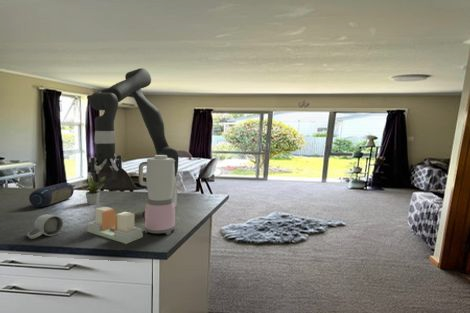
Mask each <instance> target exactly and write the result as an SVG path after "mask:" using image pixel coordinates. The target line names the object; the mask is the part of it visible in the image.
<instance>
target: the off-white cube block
mask: <svg viewBox="0 0 470 313" xmlns="http://www.w3.org/2000/svg"><path fill="white" fill-rule="evenodd" d="M115 215H116V209H115V208H114V209H113V208H112V207H109V206H101V207H97V208H95V221H96V224H98V225H101V229H102V230H106V229H108V228H110V227H114V216H115Z"/></svg>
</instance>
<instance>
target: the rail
mask: <svg viewBox="0 0 470 313" xmlns="http://www.w3.org/2000/svg"><path fill="white" fill-rule="evenodd" d="M87 224H88V226H87V228H86V231H87V232H88V233H91V234H94V235H96V236H97V235H98V236H101V237H103V238H106V239H110V240H113V241H116V242H118V243H119V242H120V243H122V244H125V245H127V244H130V243H132V242H134V241H137V240H140V239H141V238H144V233H143V229H142V228H140V227H136V226H135V213H133V212H130V211H129V212H128V211H123V212H120V213H117V214H115V216H114V227H110V228H108V229H106V230H102V229H101V225H98V224H96V220H93V221H90V222H88V223H87Z"/></svg>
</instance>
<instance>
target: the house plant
mask: <svg viewBox="0 0 470 313" xmlns="http://www.w3.org/2000/svg"><path fill="white" fill-rule="evenodd" d="M90 178H91V179H90ZM90 178H89V177H88V176H86V179H87V181H85V184H86V185H87V186H86V185H82V187H81V188H80V190H81V189H83V190H85V191H87V192H85V197H86V202H87V204H88V205H92V206H93V205H98V204H99V199H100V194H101V190H100V189H102V187H103V186H104V185H105V183H104V184H101V183H102V182H103V181H104V179H105V176H103V177H101V178H99V183H94V182H93V175H90ZM79 180H81V181H82V182H84V180H83V179H80V178H79ZM100 184H101V185H100ZM98 190H100V191H98Z"/></svg>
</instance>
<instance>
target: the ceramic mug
mask: <svg viewBox="0 0 470 313" xmlns="http://www.w3.org/2000/svg"><path fill="white" fill-rule="evenodd" d="M33 227H34V228H32V229H31V230H30V231H28V232H27V234H26V235H27V237H28V238H29V239H30V240H32V239H33V240H34V239H36V238H39V237H40V236H42V235H44V236H48V237H53V236H56V235H58V234H59V233H60V232H61V231H62V229H63V227H64V221H63V219H62V217H61V216H59V215H54V214H47V213H46V214H42V215H39V216H38V217H37V218H36V219H35V220H34V223H33ZM35 232H36V233H35Z"/></svg>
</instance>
